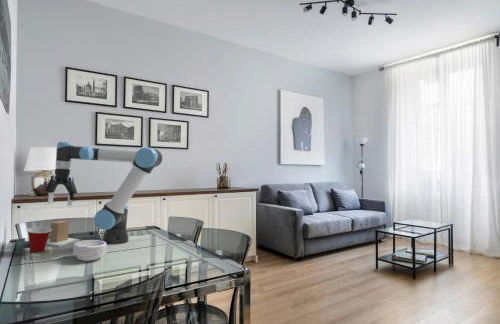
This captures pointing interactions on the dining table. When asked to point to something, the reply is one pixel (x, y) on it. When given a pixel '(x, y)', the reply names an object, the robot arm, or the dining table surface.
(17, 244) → the dining table surface
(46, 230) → the plastic cup
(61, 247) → the mat
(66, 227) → the lid
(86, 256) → the paper bowls
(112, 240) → the robot arm
